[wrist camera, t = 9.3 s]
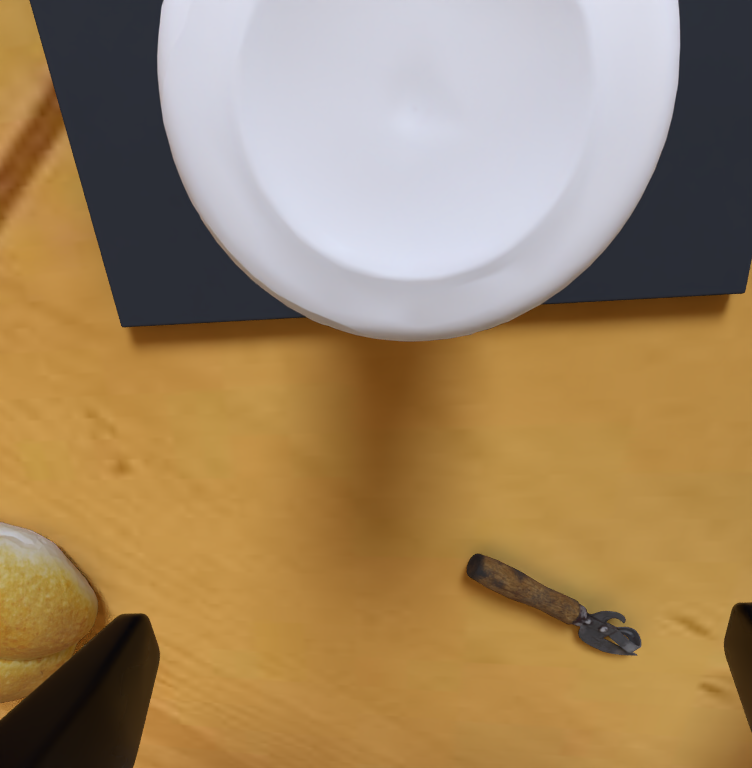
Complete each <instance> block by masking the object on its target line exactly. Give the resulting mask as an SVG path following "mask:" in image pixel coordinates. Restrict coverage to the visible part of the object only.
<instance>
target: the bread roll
mask: <svg viewBox="0 0 752 768" xmlns="http://www.w3.org/2000/svg"><path fill="white" fill-rule="evenodd" d="M97 612H98V600H97V597H96V595H95V593H94V591H93V589H92V588H91V587H90V585H89V584H88V581H87V579H86V578H85V577H84V576H83V575H82V574H81V573H80V571H79V570H78V569H77V568H76V567H75V566H74V564H73V563H72V562H71V561H70V560H69V559H68V558H67V557H66V556H65V554H64V553H63V552H62V551H61V550H60V549H59V548H58V547H57V546H56V544H54V543H53V542H51V541H50V540H48V539H46V538H45V537H43V536H41V535H39V534H37V533H35V532H33V531H31V530H28V529H25V528H21V527H17V526H13V525H10V524H6V523H2V522H0V703H4V702H9V701H14V700H18V699H21V698H24V697H27V696H28V695H29V694H30V693H31V692H33V691H34V690H35V689H36V688H37V687H38V686H39V685H40V684H42V683H43V682H44V681H45V680H46V679H47V678H48V677H50V676H51V675H52V674H53V673H54V672H55V671H56V670H57V669H59V668H60V667H61V666H62V665H63V664H64V663H65V662H66V661H68V660H69V659H70V658H71V657H72V656H73V653H74V650H75V648H76V644H77V642H78V641H80V640H81V639H82V638H83V637H85V636H86V635H87V633H88V632H89V631H90V630H91V629H92V627H93V626H94V623H95V620H96V616H97Z"/></svg>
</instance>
